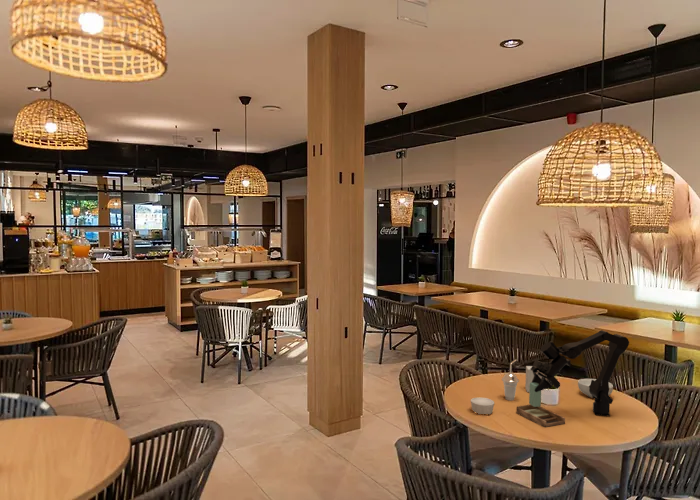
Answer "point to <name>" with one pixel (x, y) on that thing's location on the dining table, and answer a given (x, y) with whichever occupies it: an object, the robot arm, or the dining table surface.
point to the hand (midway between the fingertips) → (532, 389)
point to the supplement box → (528, 377)
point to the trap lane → (540, 415)
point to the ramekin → (482, 405)
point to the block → (534, 395)
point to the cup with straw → (510, 384)
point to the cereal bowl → (585, 384)
